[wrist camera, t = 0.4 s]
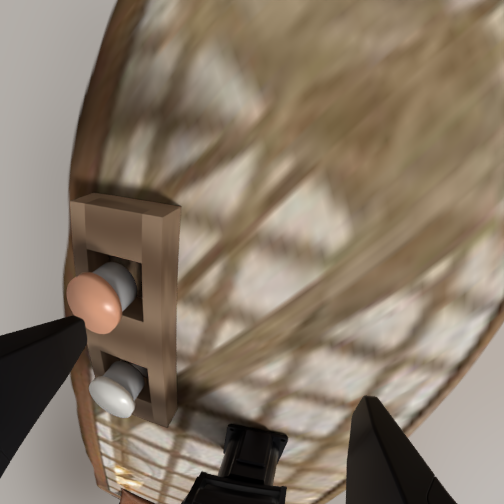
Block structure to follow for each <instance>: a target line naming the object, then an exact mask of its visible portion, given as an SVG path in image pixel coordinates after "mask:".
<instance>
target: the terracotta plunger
mask: <svg viewBox="0 0 504 504" xmlns="http://www.w3.org/2000/svg"><path fill="white" fill-rule="evenodd" d="M136 295H137V286H136V283H135V280H134V278H133V276H132V274H131V273H130V272H129V271H128V270H127V269H126V268H125V267H124V266H122V265H121V264H119V263H116V262H107V263H105V264H103V265H102V266H101V267H99V268H98V269H96V270H95V271H94V272H92V273H91V272H84V273H81V274H79V275H78V276H77V277H75V278H74V279H72V280H71V281H70V283H69V284H68V287H67V300H68V303H69V306H70V309H71V310H72V312H73V314H74V316H77V317H80V318H82V319H83V320H84V322H85V326H86V328H87V329H89V330H90V331H92V332H95V333H98V334H107V333H110V332H111V331H112V330H113V329H114V328H115V327H116V326H117V325H118V324H119V323H120V321H121V318H122V312H123V311H124V310H125V309H126V308H127V307H128V306H129V305H130V304H131V303H132V302H133V301H134V299H135V298H136Z"/></svg>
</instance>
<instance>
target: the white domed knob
mask: <svg viewBox="0 0 504 504" xmlns="http://www.w3.org/2000/svg"><path fill="white" fill-rule="evenodd" d="M144 384H145V382H144V378H143V376H142V375H141V373H140V372H139V371H138V370H137V369H136V368H135V367H133V366H132V365H130V364H128V363H126V362H123V361H116V362H114V363H113V364H112V365H111V366H110V368H109V369H108V370H107V371H106V373H105V374H104V375H103V376H99V377H96V378H95V379H94V380H93V381H92V383H91V384H90V385H89V391H90V394H91V396H92V397H93V399H94V400H95V402H96V403H97V404H98V405H99V406H100V407H102V408H103V409H104V410H105V411H107V412H109V413H110V414H112V415H114V416H117V417H121V418H127V417H129V416H130V415H131V414H132V412H133V411H134V409H135V399H136V398H137V396H138V395H139V393H140V391H141V390H142V388H143V387H144Z"/></svg>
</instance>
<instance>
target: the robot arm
mask: <svg viewBox="0 0 504 504" xmlns="http://www.w3.org/2000/svg"><path fill="white" fill-rule="evenodd" d="M86 344H87V332H86V326H85V322H84V320H83V319H82V318H80V317H77V316H74V315H73V316H69V317H65V318H62V319H59V320H55V321H51V322H48V323H44V324H41V325H37V326H33V327H30V328H26V329H23V330H19V331H16V332H12V333H8V334H5V335H1V336H0V478H1V476H2V475H3V473H4V471H5V469H6V468H7V466H8V465H9V463H10V461H11V460H12V458H13V456H14V455H15V453H16V452H17V450H18V448H19V447H20V445H21V444H22V442H23V441H24V439H25V438H26V436H27V435H28V433H29V432H30V430H31V429H32V427H33V426H34V424H35V423H36V421H37V419H38V418H39V416H40V415H41V414H42V412H43V411H44V409H45V408H46V406H47V405H48V404H49V402H50V401H51V399H52V398H53V396H54V395H55V394H56V392H57V391H58V389H59V388H60V387H61V385H62V384H63V382H64V381H65V380H66V378H67V377H68V375H69V373H70V372H71V370H72V368H73V366H74V365H75V363H76V361H77V360H78V358H79V356H80V354H81V353H82V351H83V349H84V348H85V346H86ZM287 442H288V437H287V436H285V435H280V434H275V433H270V432H265V431H260V430H255V429H251V428H246V427H242V426H238V425H234V424H229V425H228V427H227V433H226V439H225V445H224V451H223V453H224V454H225V455H224V458H223V461H222V464H221V467H220V470H219V473H218V476H216V475H211V474H207V473H206V472H201V473H200V475H199V477H197V478H196V480H195V482H194V484H193V486H192V488H191V490H190V492H189V494H188V495H187V496H186V497H185V499H184V500H183V501H182V503H181V504H285V497H286V489H287V487H286V486H281V487H279V486H273V481H274V476H275V471H276V465H277V463H278V461H279V459H280V457H281V455H282V453H283V450H284V448H285V446H286V444H287ZM434 476H435V475H434V473H433V472H432V471H431V469H430V468H429V466H428V465H427V464H426V462H425V461H424V460H423V458H422V457H421V456H420V454H419V453H418V451H417V450H416V449H415V447H414V446H413V445H412V443H411V442H410V441H409V439H408V438H407V436H406V435H405V434H404V432H403V431H402V430H401V428H400V427H399V426H398V424H397V423H396V422H395V420H394V419H393V418H392V416H391V415H390V413H389V412H388V411H387V409H386V408H385V407H384V405H383V404H382V403H381V401H380V400H379V399H378V398H377V397H375V396H367V395H366V396H363V397H362V399H361V401H360V402H359V404H358V406H357V408H356V409H355V411H354V413H353V416H352V421H351V431H350V440H349V448H348V456H347V479H346V504H457V503H456V502H455V501H454V499H453V498H452V497H451V496H450V495H449V493H448V492H447V491H446V490H445V488H444V487H443V486H442V484H441V483H440V482H439V480H438V479H437V477H434Z"/></svg>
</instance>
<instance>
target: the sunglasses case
mask: <svg viewBox="0 0 504 504" xmlns="http://www.w3.org/2000/svg"><path fill="white" fill-rule="evenodd" d="M121 489H122V488H121ZM119 504H155V503H153V502H150V501H148V500H146V499H143V498H141V497H139V496H137V495H135V494H133V493H131V492H129V491H127V490H124V489H122V495H121V500H120V503H119Z"/></svg>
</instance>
